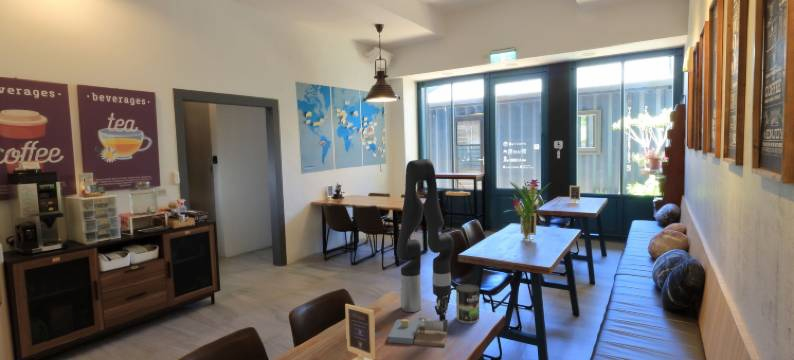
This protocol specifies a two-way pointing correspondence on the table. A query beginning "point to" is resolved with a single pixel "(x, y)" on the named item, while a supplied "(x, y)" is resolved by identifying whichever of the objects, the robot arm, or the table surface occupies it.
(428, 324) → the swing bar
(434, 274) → the robot arm
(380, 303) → the table surface
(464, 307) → the coffee can
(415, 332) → the frame
